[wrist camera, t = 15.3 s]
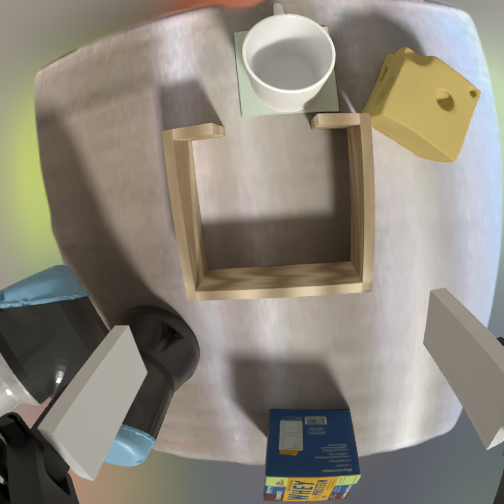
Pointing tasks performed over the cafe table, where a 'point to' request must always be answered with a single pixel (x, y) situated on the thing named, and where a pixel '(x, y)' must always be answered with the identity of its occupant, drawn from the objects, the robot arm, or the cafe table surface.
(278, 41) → the mug
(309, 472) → the protein box
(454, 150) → the cheese
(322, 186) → the cafe table surface
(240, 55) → the mat
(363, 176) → the frame
